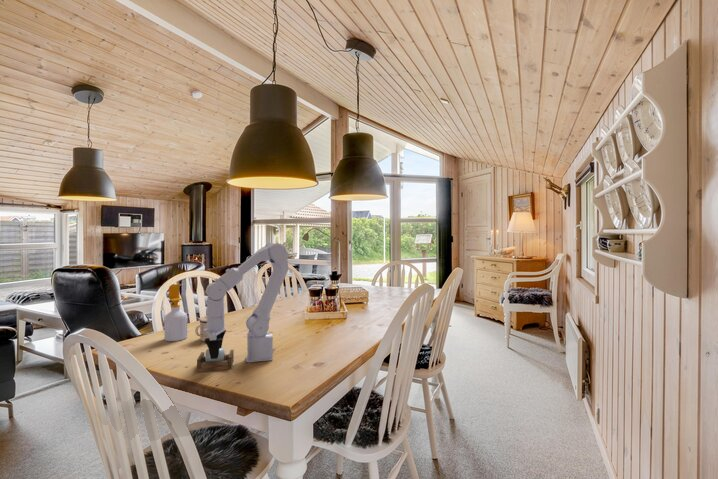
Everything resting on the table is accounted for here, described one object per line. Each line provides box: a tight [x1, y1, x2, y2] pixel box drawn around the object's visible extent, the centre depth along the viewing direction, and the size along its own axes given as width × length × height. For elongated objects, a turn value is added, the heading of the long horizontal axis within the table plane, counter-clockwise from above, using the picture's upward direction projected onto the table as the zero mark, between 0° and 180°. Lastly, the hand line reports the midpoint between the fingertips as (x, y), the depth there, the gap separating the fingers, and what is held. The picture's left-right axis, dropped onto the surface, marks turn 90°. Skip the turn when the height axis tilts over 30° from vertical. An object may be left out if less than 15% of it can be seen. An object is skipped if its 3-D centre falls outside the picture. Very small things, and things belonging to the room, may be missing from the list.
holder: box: [196, 349, 235, 373], centre depth 122 cm, size 11×8×4 cm
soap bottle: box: [163, 283, 188, 342], centre depth 154 cm, size 9×9×25 cm
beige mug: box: [194, 314, 210, 342], centre depth 153 cm, size 12×9×12 cm
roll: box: [204, 347, 226, 363], centre depth 122 cm, size 6×5×5 cm
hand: (216, 354), depth 122 cm, fingers open, 7 cm apart
